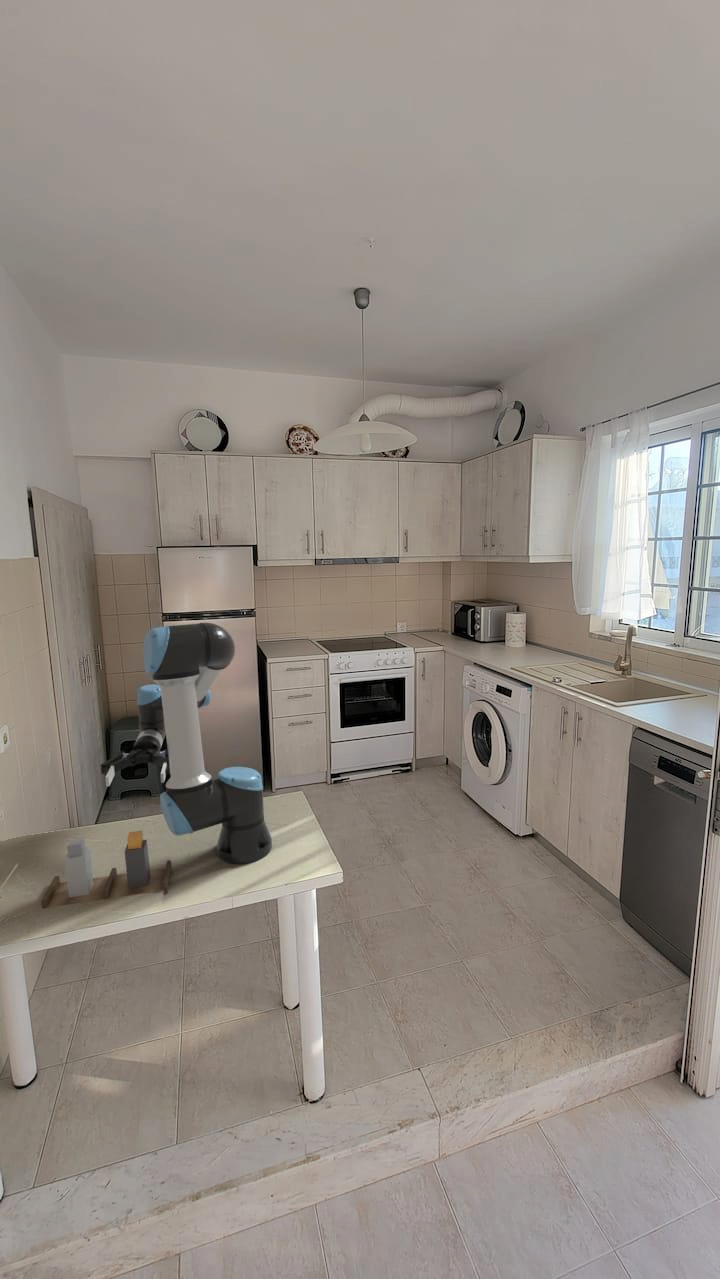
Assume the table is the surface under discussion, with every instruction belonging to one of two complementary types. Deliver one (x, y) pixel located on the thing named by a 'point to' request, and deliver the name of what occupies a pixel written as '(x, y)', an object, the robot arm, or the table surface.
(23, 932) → the table surface
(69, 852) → the grey plug
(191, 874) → the table surface
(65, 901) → the brown wooden tray
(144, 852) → the charcoal plug
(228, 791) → the robot arm
